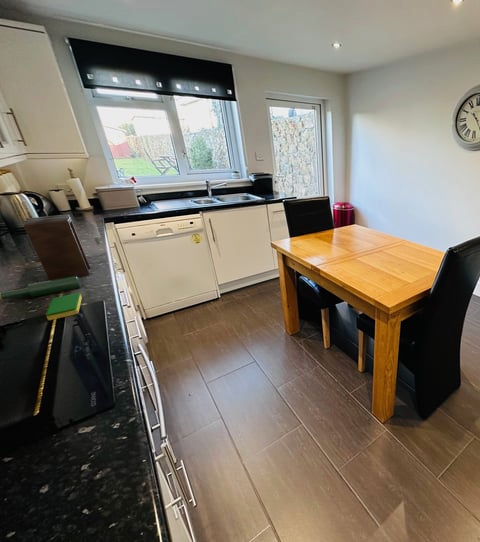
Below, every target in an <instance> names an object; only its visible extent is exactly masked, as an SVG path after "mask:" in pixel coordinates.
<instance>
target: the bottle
mask: <svg viewBox="0 0 480 542" xmlns="http://www.w3.org/2000/svg"><path fill="white" fill-rule="evenodd" d="M77 289H82V283H81V279H80V277H78V276H71V277H66V278H61V279H55V280H50V281H49V280H44V281H39V282H33V283H29V284H27V287H25V288H20V289H14V290H9V291H3V292H1V291H0V302H3V301H5V300H11V299H15V298H20V297H25V296H30V297H32V298H37V297H41V296H47V295H52V294H56V293H61V292H66V291H72V290H77Z"/></svg>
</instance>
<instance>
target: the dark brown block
mask: <svg viewBox="0 0 480 542" xmlns="http://www.w3.org/2000/svg"><path fill="white" fill-rule="evenodd" d="M23 228H24V230H25V232H26V234H27V236H28V237H29V240H30V243H31V245H32V247H33V249H34V251H35V253H36V256H37V257H38V259H39V262H40V264H41V266H42V268H43V270H44V272H45V274H46V275H47V279H48V281H50V280H55V279H61V278H66V277H71V276H78V277H79V278H81V277H85V276H90V274H91V273H90V271H89V270H90V269H92V268H91V264H90V263H89V260H88V257H87V255H86V252H85V250H84V247H83V245H82V243H81V240H80V237H79V234H78V232H77V230H76V227H75V225H74V222H73V220H72V217H71V216H70V215H69V214H59V215H50V216H49V215H47V216H37V217H26V218H25V220H23Z"/></svg>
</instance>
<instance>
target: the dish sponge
mask: <svg viewBox="0 0 480 542" xmlns="http://www.w3.org/2000/svg"><path fill="white" fill-rule="evenodd" d="M82 299H83V297H82V294H81V292H77V293H76V292H75V293H72V294H71V293H70V294H67V295H62V296H57V297H53V298H52V299H51V301H50V303H49V306H48V308H47V311H46V313H45V316H46V319H47V321H52V320H57V319H61V318H65V317H71V316H74V315H78V314H79V313H80V312H79V311H80V309H81V304H82Z"/></svg>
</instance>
